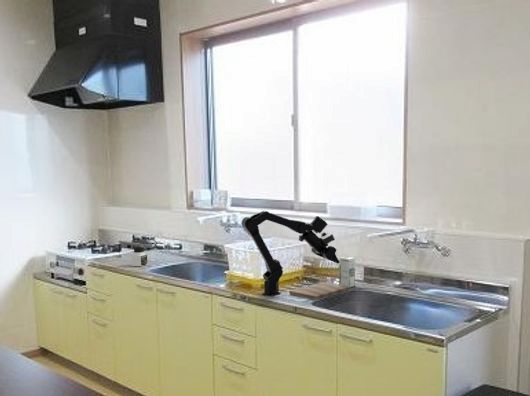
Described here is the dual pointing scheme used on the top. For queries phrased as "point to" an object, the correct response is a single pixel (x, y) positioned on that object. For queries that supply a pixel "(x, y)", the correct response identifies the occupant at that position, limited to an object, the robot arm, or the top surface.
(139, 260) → the medicine bottle
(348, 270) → the syrup box
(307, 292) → the walnut board
